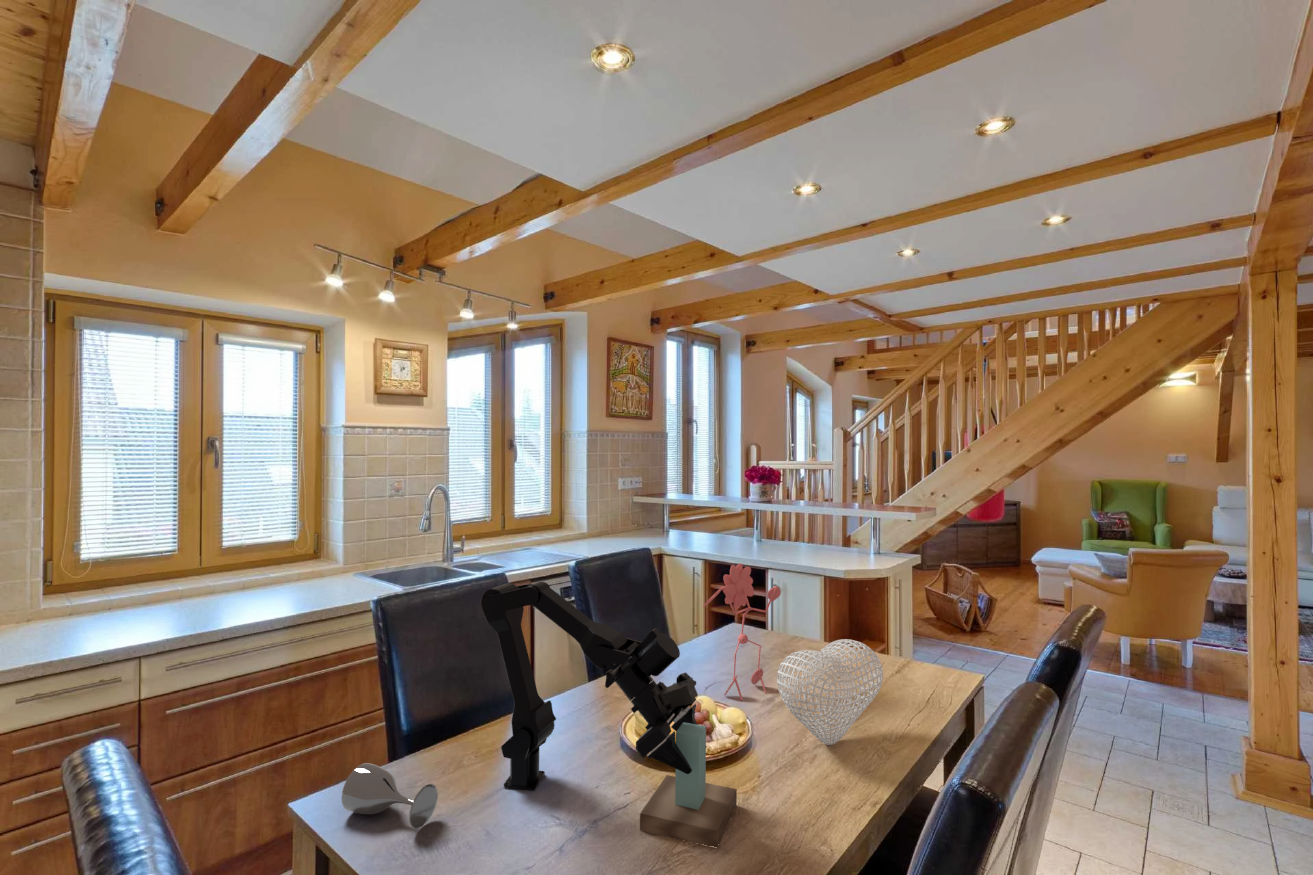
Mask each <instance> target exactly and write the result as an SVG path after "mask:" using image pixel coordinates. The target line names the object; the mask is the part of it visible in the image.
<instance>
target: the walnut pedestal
mask: <svg viewBox="0 0 1313 875" xmlns="http://www.w3.org/2000/svg"><path fill="white" fill-rule="evenodd" d="M737 792H738V791H737V788H734V787H729V786H723V785H718V784H712V783H707V782H706V787H705V799H704V801H703V802H702V804H701V806H700V808H699V810H697V809H693V808H688V807H684V806H679V805H675V776H673V775H668V774H667V775H666V776H664V778H663V780H662V781H661V783H660V784H659V786H658V787H657V788H656V790H655V791H654V793H653V794H652V795H651V797H650V799H649V800H648V801H647V803H646V804H645V805H644V806H643V808H642V809H641V812H640V813H639V831H641V832H645V833H649V834H653V835H657V836H661V837H665V838H670V839H674V838H675V839H674V840H678V839H679V841H682V840H685V841H684V842H687V843H690V842H692V843H691V844H695V843H698V844H697V845H699V844H704V845H707V846H714V847H718V848H719V846H718V844H719V843H720V844H721V841H722V839H723V837H722V836H724V835H723V834H725V832H726V830H727V828H728V826H727V825H729V823H730V821H731V819H732V817H733V814H734V812H733V811H735V810H734V809H736V808H735V807H737V799H738V798H737ZM732 813H733V814H732ZM731 816H732V817H731ZM730 818H731V819H730ZM729 820H730V821H729ZM728 822H729V823H728ZM726 827H727V828H726ZM725 829H726V830H725ZM724 831H725V832H724ZM666 836H667V837H666ZM721 838H722V839H721ZM720 844H719V845H720ZM707 846H706V847H707Z"/></svg>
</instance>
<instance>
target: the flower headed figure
mask: <svg viewBox="0 0 1313 875" xmlns="http://www.w3.org/2000/svg"><path fill="white" fill-rule="evenodd" d="M751 572H752V568H751V567H750V566H745V567H744V568H743V564H742V563H741V562H740V563H737V565H735V564H732V565H731V566H730V569H729V574H724V575H723V579H722V580H723V583H724V584H725V586H721V587H720V588H719V589H718V590H716V591H715V592H714V594H712V596H711V597H710V598H708V600H707V601H706V602H705V603H704V604H703V606H702V607H703V608H705V607H706V606H707V605H709V603H711V602H712V601H713V600H714V599H715V598H716V597H717V596H718V595H719V594H720V593H721V591H722V592H723V594H724V595H725V598H724V602H725V604H726V605H729V606H730V608H731V611H732V613H733V615H734V616H736V615H739V614H741V613H743V612H744V613H743V615H742V623H741V633H740V635H738V637H737V641H738V642H737V646H736V649H735V652H734V657H733V658H734V660H733V678H732V681H731V683H730V684H729V686H728V688H727V690H725V693H724V694H723V696H724V695H725V696H727V694H728V692H729V690H730V689H731V687H732V686H733V685H734V683H735V686H736V688H737V691H738V695H739V698H740V701H741V700H743V701H744V698H743V696H742V692H741V690H740V687H739V683H738V680H737V678H738V674H737V675H736V666H737V665H736V662H737V653H738V649H739V646H740V644H741V645H745V644H747V643H748V642H749V643H751V644H752V645H753V644H754V645H756V646H758V647H759V650H758V660H757V669H756V670H755V671H754V672H753V674H752V675H751V677H750V682H751V683H752V685H755V686H756V685H757V684H758V683H759V681H760V682H761V686H762V689H763V693H765V694H767V690H766V686H765V684H764V680H763V676H764V674H765V673H764V670H763V668H760V661H761V651H762V649H761V648H762V646H761V644H758V643H757V642H754V641H751V640H749V637H748V635H747V634H745V633H744V629H745V628H744V626H745V619H746V615H747V614H748V612H749V611H757V612H759V613H760V612H761V613H767V612H768V610H769V607H770V605H771V603H772V602H774V601H775V600H777V599H778V598H779V597H780V596H781V595H782V590H781V588H780V587H779V586H777V585H775V586H774V587H771V588H770V589H769V590H768V592H767V598H768V603H767V605H766V607H765V610H764V609H760V608H755V607H751V606H750V602H749V599H748V597H750V598H751V597H753V596H754V595H755V590H754V587H753V585H752V584H754V579H753V578H752V577H751V576H750V575H751ZM746 605H747V607H745V606H746ZM741 606H742V607H745V608H743V609H741V610H738V609H740V607H741ZM735 610H736V611H737V610H738V611H737V612H736V611H735Z"/></svg>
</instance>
